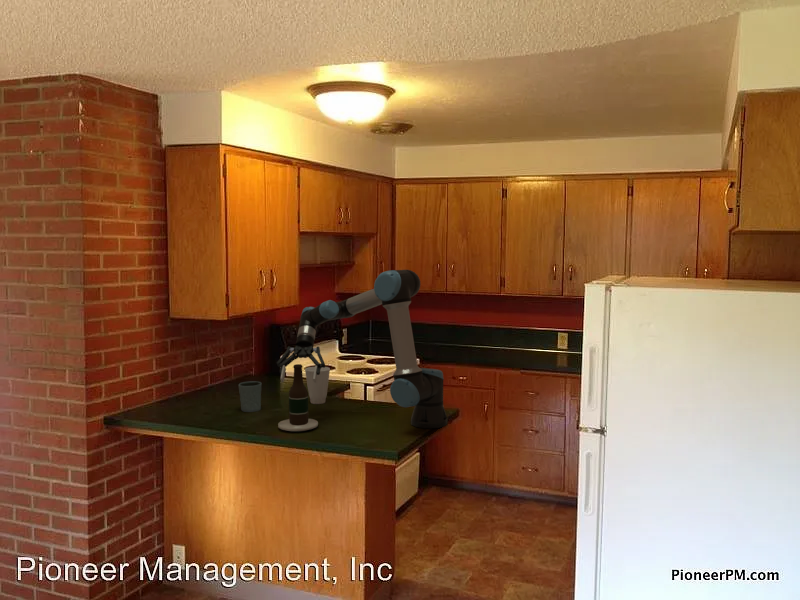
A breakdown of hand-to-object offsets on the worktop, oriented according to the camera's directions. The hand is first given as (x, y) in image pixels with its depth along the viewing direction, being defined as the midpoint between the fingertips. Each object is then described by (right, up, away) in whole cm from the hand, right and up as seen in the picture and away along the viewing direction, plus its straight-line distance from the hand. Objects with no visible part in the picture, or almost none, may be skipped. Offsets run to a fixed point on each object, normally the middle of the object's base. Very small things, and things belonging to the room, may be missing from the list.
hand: (298, 380), depth 282 cm
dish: (0, -19, -2) cm, 19 cm away
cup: (+3, -15, +43) cm, 46 cm away
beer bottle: (+1, -17, -2) cm, 17 cm away
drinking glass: (-26, -17, +29) cm, 42 cm away
